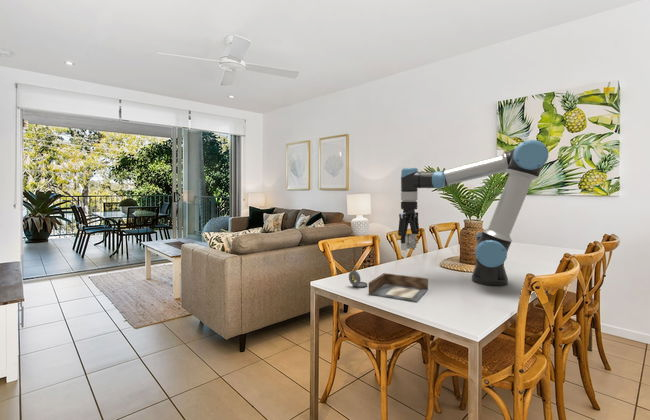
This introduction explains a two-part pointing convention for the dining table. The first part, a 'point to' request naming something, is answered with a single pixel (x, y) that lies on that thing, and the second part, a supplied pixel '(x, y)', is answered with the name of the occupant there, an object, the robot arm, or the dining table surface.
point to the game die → (411, 241)
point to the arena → (399, 287)
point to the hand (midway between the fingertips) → (408, 248)
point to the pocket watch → (357, 278)
